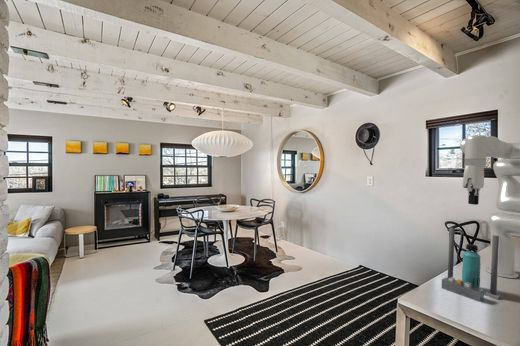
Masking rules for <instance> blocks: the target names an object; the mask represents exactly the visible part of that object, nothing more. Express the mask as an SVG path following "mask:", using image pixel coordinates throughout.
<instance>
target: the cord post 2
mask: <svg viewBox="0 0 520 346" xmlns="http://www.w3.org/2000/svg"><path fill="white" fill-rule="evenodd" d="M498 246H499V236H496V235H493V237H492V261H491V273H490V285H489V286H490V289H489V291H487V292H485V293H484V296H486V297H488V296H489V297H488V298H490V299H491V298H492V299H494V300H499V299H501V298H502V294H500V293H497V290H498V289H497V288H498V276H497V270H498Z"/></svg>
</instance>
